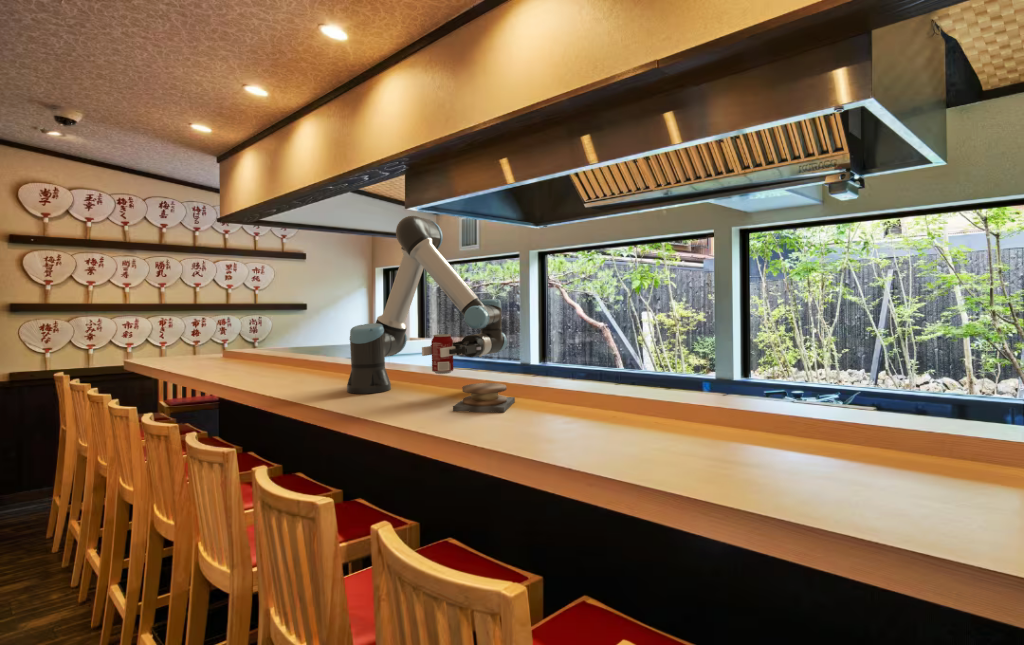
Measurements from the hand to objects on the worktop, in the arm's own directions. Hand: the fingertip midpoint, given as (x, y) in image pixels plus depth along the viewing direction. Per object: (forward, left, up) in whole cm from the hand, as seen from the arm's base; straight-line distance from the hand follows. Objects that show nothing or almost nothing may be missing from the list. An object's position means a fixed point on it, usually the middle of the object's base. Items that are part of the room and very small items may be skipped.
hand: (432, 352), depth 174 cm
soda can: (+2, +5, -7) cm, 9 cm away
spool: (+18, -4, -16) cm, 24 cm away
